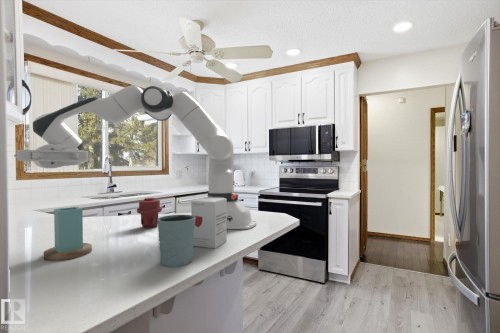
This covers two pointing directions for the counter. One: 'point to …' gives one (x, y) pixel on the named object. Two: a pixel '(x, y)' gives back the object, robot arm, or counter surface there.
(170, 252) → the teal cup
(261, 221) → the counter surface
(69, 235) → the teal box
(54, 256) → the post stand
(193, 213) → the supplement box
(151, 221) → the mechanical component
